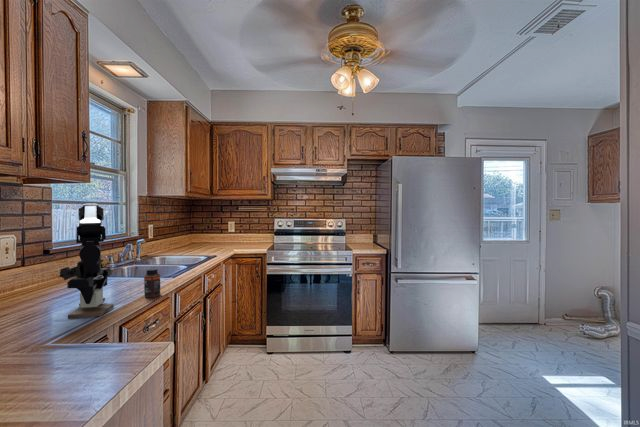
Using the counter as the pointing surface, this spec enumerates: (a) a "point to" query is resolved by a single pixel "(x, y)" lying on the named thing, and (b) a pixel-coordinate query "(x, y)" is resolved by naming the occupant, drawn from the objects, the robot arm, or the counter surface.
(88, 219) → the robot arm
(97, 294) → the cube
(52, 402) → the counter surface
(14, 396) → the counter surface
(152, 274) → the supplement bottle
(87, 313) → the brown square tile
